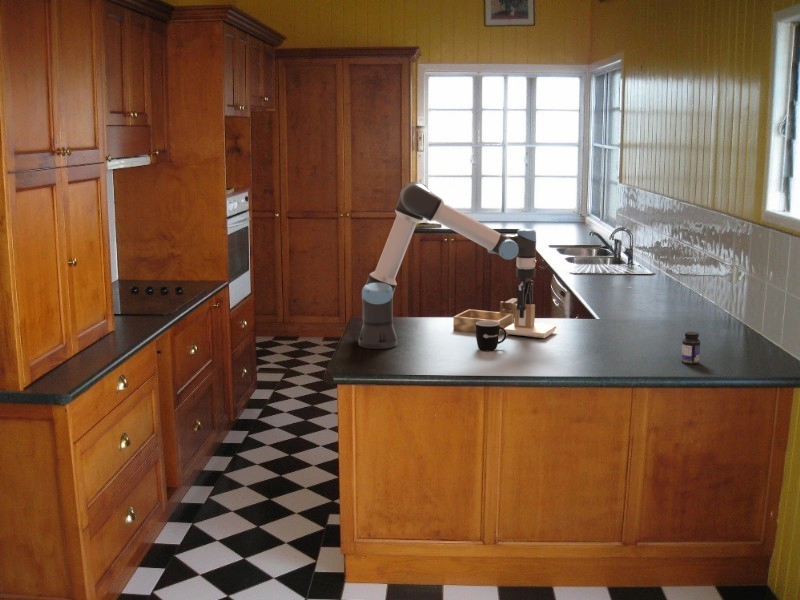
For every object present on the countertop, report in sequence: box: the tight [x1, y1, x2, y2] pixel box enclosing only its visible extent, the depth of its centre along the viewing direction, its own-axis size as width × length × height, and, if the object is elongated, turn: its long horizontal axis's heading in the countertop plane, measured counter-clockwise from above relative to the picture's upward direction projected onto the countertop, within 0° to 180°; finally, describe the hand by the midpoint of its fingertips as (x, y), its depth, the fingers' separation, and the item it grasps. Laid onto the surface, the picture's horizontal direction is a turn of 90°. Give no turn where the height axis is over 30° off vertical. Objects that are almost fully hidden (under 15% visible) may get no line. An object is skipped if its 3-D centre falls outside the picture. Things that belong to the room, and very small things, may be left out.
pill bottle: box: [681, 330, 701, 365], centre depth 316 cm, size 6×6×11 cm
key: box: [503, 297, 517, 310], centre depth 378 cm, size 4×11×2 cm, turn 153°
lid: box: [504, 304, 557, 339], centre depth 358 cm, size 17×16×11 cm
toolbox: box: [452, 300, 515, 337], centre depth 369 cm, size 20×18×10 cm
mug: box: [475, 321, 507, 352], centre depth 336 cm, size 12×9×10 cm
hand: (524, 323), depth 360 cm, fingers open, 5 cm apart
